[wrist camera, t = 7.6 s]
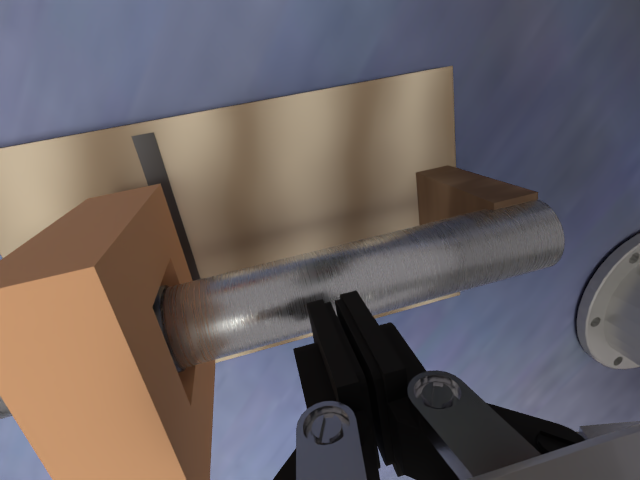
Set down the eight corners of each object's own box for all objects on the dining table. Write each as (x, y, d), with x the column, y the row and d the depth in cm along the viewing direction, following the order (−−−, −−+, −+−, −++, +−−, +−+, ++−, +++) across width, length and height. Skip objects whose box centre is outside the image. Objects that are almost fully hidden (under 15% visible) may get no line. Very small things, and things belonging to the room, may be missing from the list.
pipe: (511, 188, 17) (569, 206, 14) (510, 253, 18) (563, 282, 15) (-56, 324, 14) (-133, 385, 11) (-13, 392, 15) (-71, 463, 12)
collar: (160, 183, 17) (94, 266, 8) (215, 351, 20) (207, 528, 12) (87, 198, 16) (-60, 302, 8) (156, 367, 20) (104, 563, 11)
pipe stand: (438, 67, 22) (557, 50, 14) (448, 284, 27) (538, 360, 19) (-30, 153, 18) (-224, 194, 10) (87, 383, 23) (16, 525, 16)
